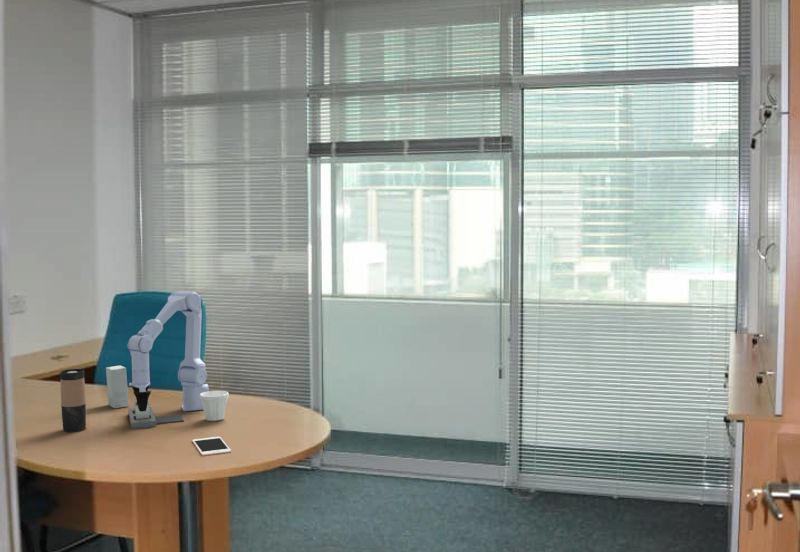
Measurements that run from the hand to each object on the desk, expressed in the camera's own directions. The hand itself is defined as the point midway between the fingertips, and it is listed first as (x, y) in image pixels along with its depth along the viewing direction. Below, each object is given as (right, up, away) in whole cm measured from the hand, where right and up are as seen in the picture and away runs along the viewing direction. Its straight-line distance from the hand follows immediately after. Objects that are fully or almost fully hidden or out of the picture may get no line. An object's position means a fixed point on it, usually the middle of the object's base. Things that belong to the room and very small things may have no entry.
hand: (141, 408), depth 286 cm
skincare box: (-18, -3, +27) cm, 32 cm away
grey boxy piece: (0, -5, 0) cm, 5 cm away
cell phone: (+31, -8, -30) cm, 43 cm away
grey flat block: (-1, -5, +4) cm, 6 cm away
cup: (+24, -5, +4) cm, 25 cm away
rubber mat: (+8, -5, +5) cm, 10 cm away
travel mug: (-21, -6, -7) cm, 23 cm away
